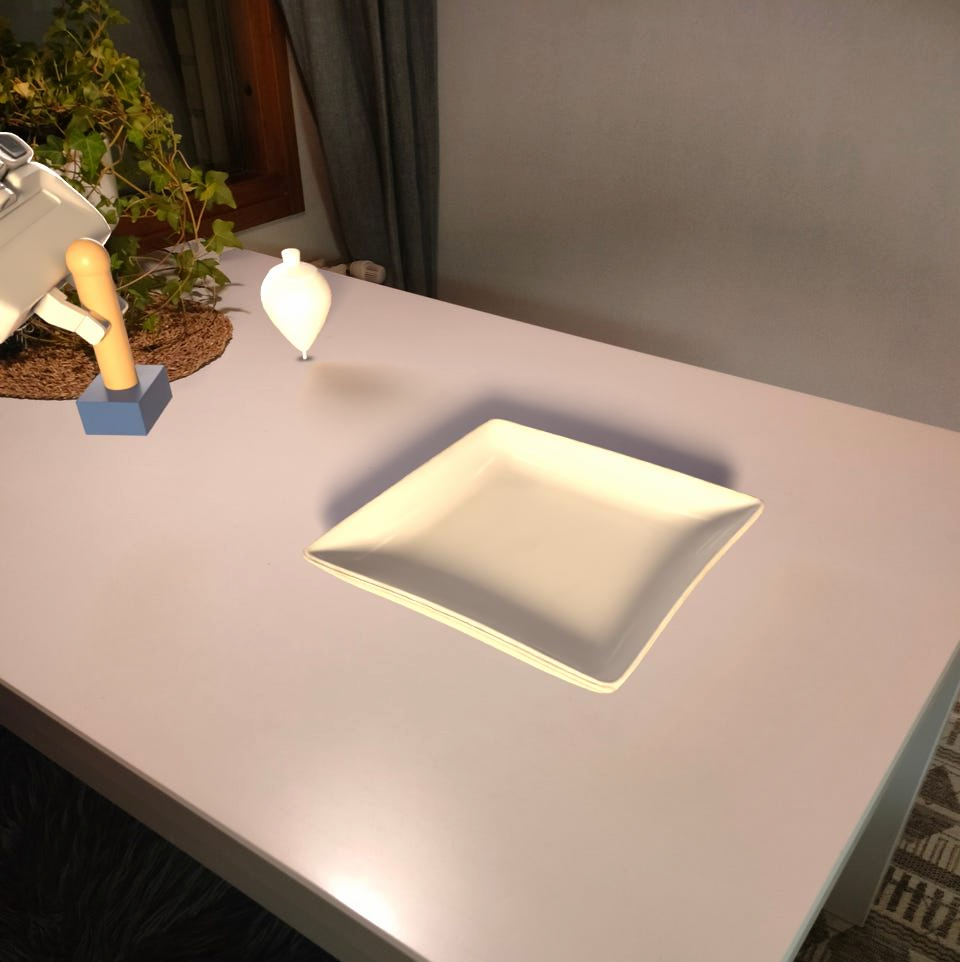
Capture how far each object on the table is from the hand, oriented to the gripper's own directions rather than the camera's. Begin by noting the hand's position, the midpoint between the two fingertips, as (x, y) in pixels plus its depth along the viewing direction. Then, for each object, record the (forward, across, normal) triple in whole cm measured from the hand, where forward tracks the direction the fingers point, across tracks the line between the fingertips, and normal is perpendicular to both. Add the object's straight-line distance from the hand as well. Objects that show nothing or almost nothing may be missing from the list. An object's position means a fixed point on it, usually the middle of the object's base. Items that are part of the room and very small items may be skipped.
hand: (113, 325), depth 74 cm
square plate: (+35, -10, -14) cm, 39 cm away
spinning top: (+17, +29, +5) cm, 34 cm away
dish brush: (+5, 0, +6) cm, 8 cm away
